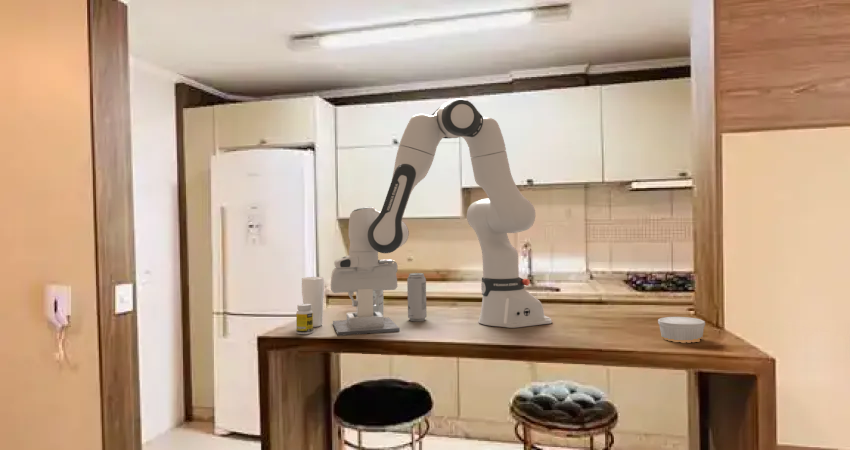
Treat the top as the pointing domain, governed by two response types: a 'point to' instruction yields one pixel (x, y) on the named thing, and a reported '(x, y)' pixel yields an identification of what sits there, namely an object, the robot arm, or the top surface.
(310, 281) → the drinking glass
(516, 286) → the robot arm
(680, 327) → the ramekin
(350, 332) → the dock socket
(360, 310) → the small white box
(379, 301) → the supplement box
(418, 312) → the energy drink can
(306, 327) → the supplement bottle
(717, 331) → the top surface
